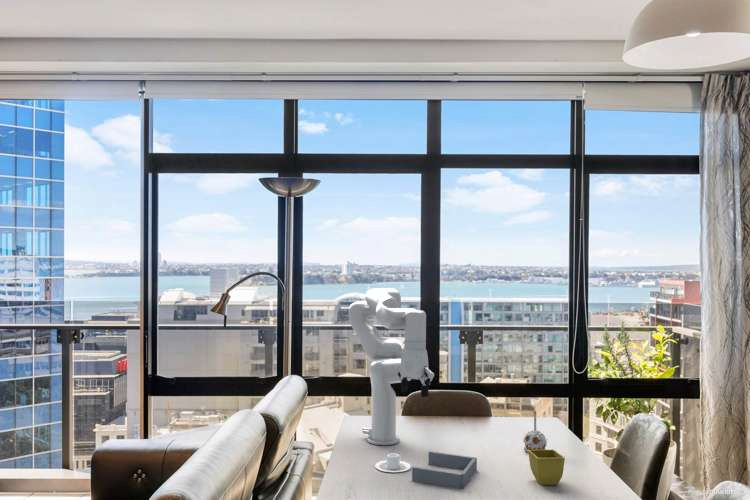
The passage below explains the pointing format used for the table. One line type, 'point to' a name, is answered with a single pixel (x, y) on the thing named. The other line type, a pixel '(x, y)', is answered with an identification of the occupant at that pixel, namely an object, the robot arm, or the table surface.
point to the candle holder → (393, 463)
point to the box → (442, 476)
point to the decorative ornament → (534, 439)
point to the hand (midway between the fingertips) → (414, 394)
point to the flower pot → (546, 466)
